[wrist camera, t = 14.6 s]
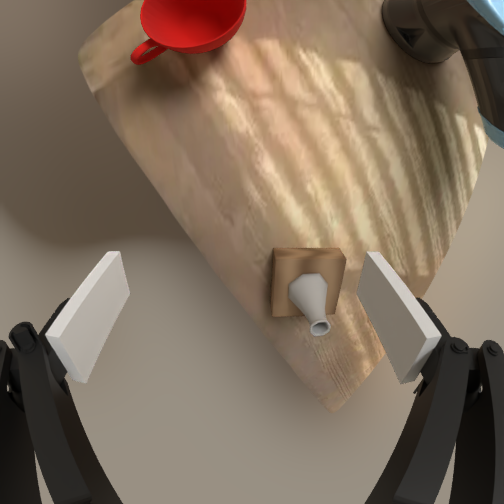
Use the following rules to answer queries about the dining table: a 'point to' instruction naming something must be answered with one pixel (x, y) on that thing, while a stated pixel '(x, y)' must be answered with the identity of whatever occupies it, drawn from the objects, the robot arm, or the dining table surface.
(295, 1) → the dining table surface
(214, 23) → the ceramic cup
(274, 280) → the plinth
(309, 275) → the flask
